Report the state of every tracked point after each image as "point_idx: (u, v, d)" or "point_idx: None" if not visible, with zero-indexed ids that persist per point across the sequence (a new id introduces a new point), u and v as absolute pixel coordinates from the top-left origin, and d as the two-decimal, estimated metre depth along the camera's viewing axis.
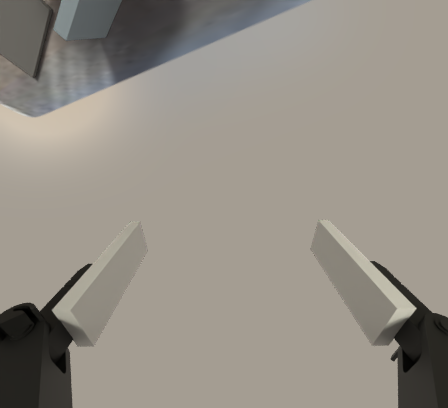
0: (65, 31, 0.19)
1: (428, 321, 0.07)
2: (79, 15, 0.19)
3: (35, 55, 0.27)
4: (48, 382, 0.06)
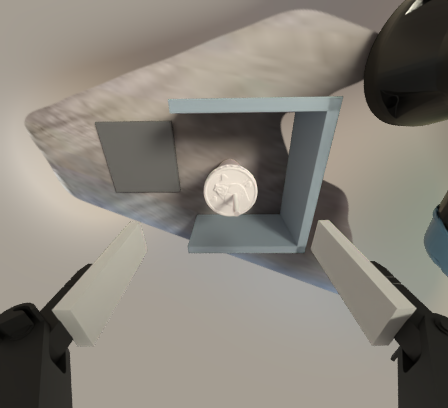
0: (193, 251, 0.25)
1: (428, 321, 0.07)
2: None
3: (137, 190, 0.30)
4: (48, 382, 0.06)
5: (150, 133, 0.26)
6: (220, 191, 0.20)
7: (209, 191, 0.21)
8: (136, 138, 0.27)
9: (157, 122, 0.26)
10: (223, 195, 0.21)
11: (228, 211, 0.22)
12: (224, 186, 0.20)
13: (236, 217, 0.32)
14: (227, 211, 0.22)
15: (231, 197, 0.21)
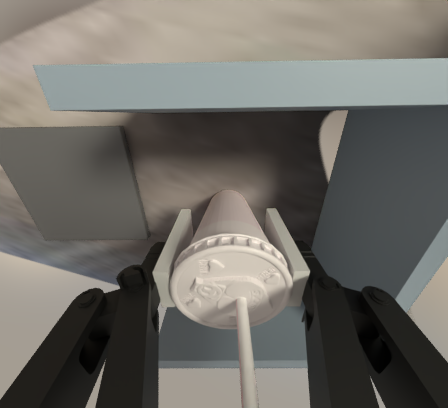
0: (163, 366, 0.14)
1: (316, 283, 0.08)
2: None
3: (79, 237, 0.19)
4: (149, 337, 0.07)
5: (86, 148, 0.15)
6: (207, 293, 0.09)
7: (183, 288, 0.09)
8: (61, 157, 0.15)
9: (95, 129, 0.14)
10: (214, 299, 0.09)
11: (226, 321, 0.10)
12: (216, 284, 0.09)
13: None
14: (224, 321, 0.10)
15: (233, 303, 0.09)
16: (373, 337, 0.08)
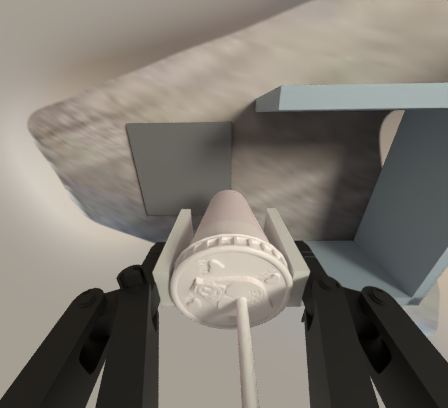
0: None
1: (316, 283, 0.08)
2: None
3: (175, 213, 0.23)
4: (149, 337, 0.07)
5: (202, 138, 0.19)
6: (207, 293, 0.09)
7: (183, 288, 0.09)
8: (180, 146, 0.19)
9: (213, 124, 0.18)
10: (215, 299, 0.09)
11: (226, 321, 0.10)
12: (216, 284, 0.09)
13: None
14: (224, 321, 0.10)
15: (233, 303, 0.09)
16: (373, 337, 0.08)
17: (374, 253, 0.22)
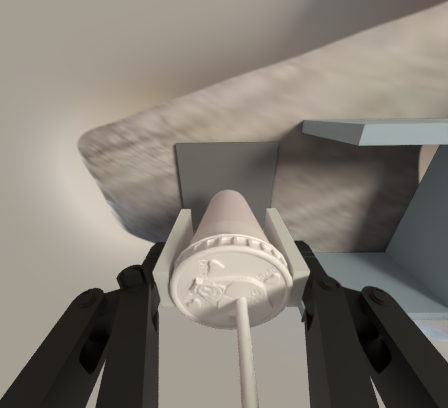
0: None
1: (316, 283, 0.08)
2: None
3: None
4: (149, 337, 0.07)
5: (248, 157, 0.20)
6: (207, 293, 0.09)
7: (183, 288, 0.09)
8: (226, 164, 0.20)
9: (260, 144, 0.19)
10: (214, 300, 0.09)
11: (226, 321, 0.10)
12: (216, 284, 0.09)
13: (333, 257, 0.26)
14: (224, 321, 0.10)
15: (233, 303, 0.09)
16: (373, 337, 0.08)
17: (410, 266, 0.23)
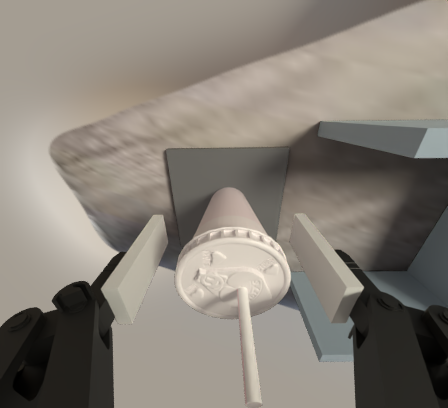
0: (328, 359, 0.16)
1: (372, 299, 0.07)
2: None
3: None
4: (97, 356, 0.06)
5: (253, 166, 0.16)
6: (210, 283, 0.09)
7: (187, 279, 0.10)
8: (227, 174, 0.17)
9: (268, 150, 0.16)
10: (217, 289, 0.09)
11: (228, 311, 0.11)
12: (219, 274, 0.09)
13: None
14: (225, 311, 0.11)
15: (234, 293, 0.10)
16: (437, 362, 0.07)
17: (440, 291, 0.20)
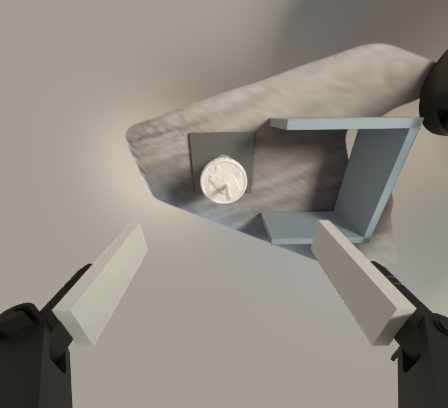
0: (275, 243, 0.30)
1: (428, 321, 0.07)
2: None
3: None
4: (48, 382, 0.06)
5: (235, 142, 0.30)
6: (214, 181, 0.23)
7: (205, 181, 0.24)
8: (222, 146, 0.31)
9: (243, 133, 0.30)
10: (217, 184, 0.24)
11: (222, 199, 0.25)
12: (218, 176, 0.23)
13: (296, 214, 0.37)
14: (221, 199, 0.25)
15: (224, 186, 0.24)
16: None
17: (345, 216, 0.34)
